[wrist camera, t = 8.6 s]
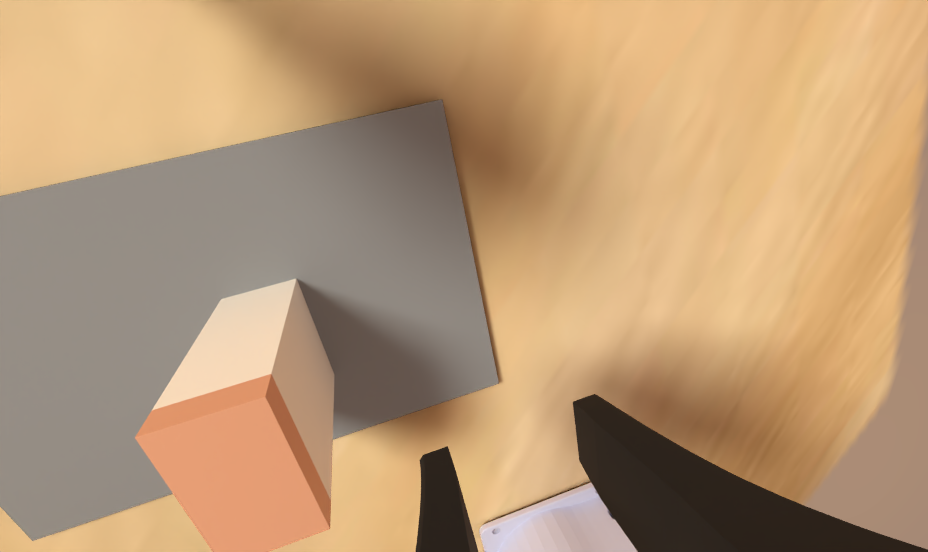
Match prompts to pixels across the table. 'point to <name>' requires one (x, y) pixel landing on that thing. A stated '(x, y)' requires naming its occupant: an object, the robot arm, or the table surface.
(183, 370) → the cream block
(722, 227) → the table surface
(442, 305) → the slate mat
